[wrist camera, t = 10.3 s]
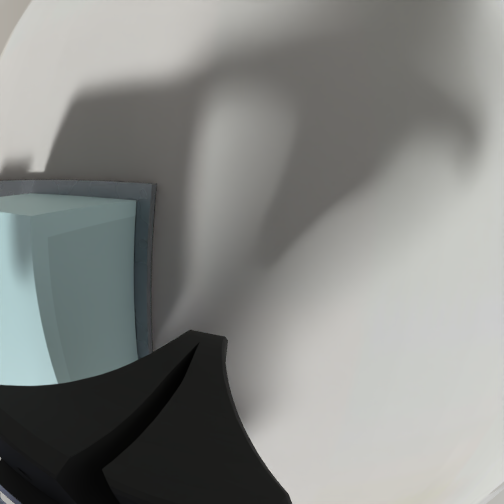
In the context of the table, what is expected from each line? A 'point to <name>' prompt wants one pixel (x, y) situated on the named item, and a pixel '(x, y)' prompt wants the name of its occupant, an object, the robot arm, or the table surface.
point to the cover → (65, 287)
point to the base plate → (142, 237)
